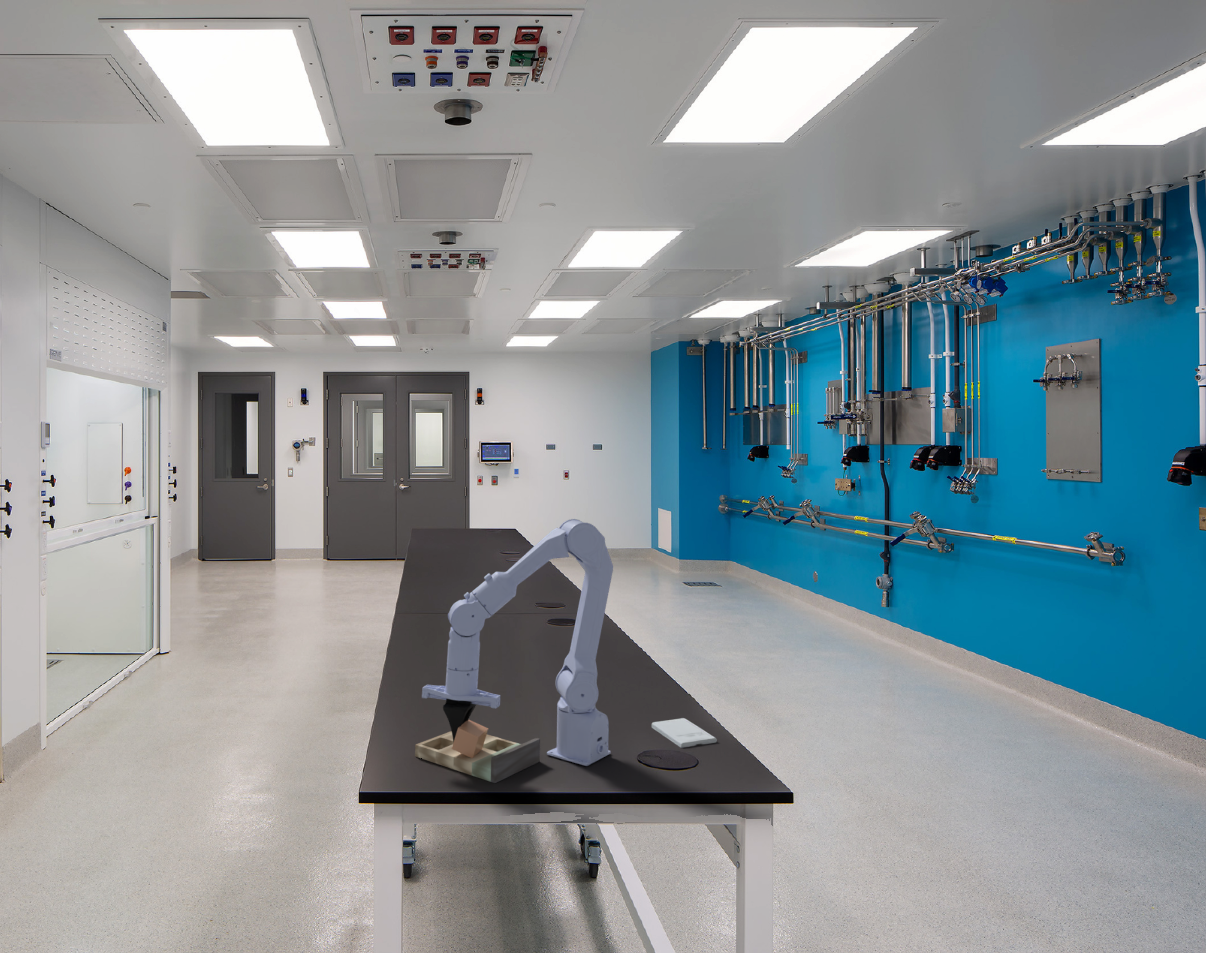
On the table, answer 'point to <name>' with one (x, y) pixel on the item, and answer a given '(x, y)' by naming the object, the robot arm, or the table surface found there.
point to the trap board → (482, 756)
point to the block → (470, 738)
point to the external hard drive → (683, 732)
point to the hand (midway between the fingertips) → (458, 741)
